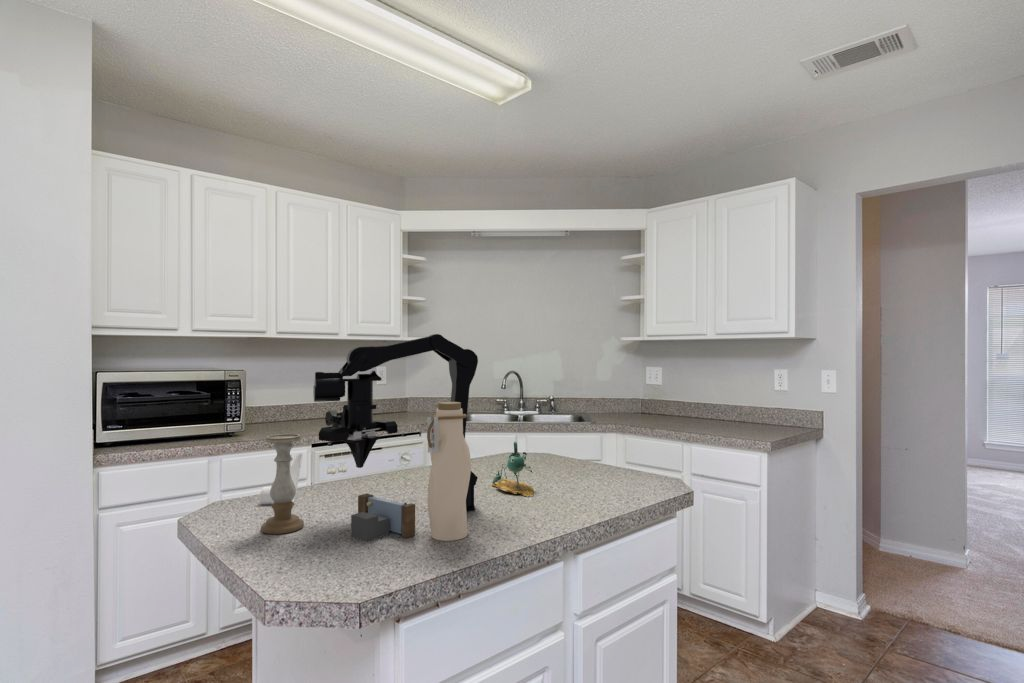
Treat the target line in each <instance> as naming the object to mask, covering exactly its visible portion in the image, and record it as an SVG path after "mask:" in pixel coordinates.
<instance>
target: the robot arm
mask: <svg viewBox="0 0 1024 683" xmlns="http://www.w3.org/2000/svg"><path fill="white" fill-rule="evenodd" d="M429 352H434V353H435V354H437V355H438V356H439V357H441V359H443V360H444V361H446V362H447V363H448V370H449V372H448V374H449V376H450V380H451V394H450V402H460V403H461V409H462V412H463V414H466V415H467V417H466V418H463V435H464V438H465V439H466V432H467V419H468V408H469V397H470V387H471V384H472V382H473V380H474V378H475V375H476V371H477V368H478V363H479V359H478V358H479V357H478V355H477V353H476V352H475V351H473V350H472V349H469V348H463V347H461V346H460V345H458V344H456V343H454V342H452V341H451V340H449V339H447V338H445V337H444V336H443V335H442V334H439V333H434V334H430V335H428V336H425V337H420V338H419V337H418V338H415V339H410V340H405V341H401V342H397V343H392V344H387V345H376V346H375V345H374V346H372V345H370V346H359V347H358V346H357V347H353V348H351V349H350V350H349V351H348V353H347V355H346V362H345V363H344V364H343V365H342V367H341V368H339V371H337V372H323V371H315V372H314V383H313V384H314V385H313V395H312V396H313V402H314V403H318V402H319V403H321V402H325V403H326V402H340V401H341V398H343V397H345V396H346V382H347V400H346V401H347V402H346V404H343V407H342V411H341V412H337V411H336V410H329V411H327V412H325V416H324V417H325V418H324V420H325V425H326V426H324V427H323V426H322V427H321V428H320V429H319V431H318V440H319V441H324V442H330V443H339V442H344V443H345V444H346V445H347V446H348V447H349V448H348V449H350V452H351V454H352V456H353V459H354V463H355V466H356V468H358V469H362V468H363V467H364V465H365V463H366V461H367V459H368V456H369V455H370V453H371V450H373V449H372V448H373V447H374V446H375V444H376V442H377V440H380V436H377V435H376V434H377V433H378V432H386V434H388V435H390V434H397V433H399V431H398V427H399V426H398V424H397V422H396V421H395V420H387V419H379V420H373V419H374V418H373V414H374V413H373V410H377V404H373V403H374V402H373V401H374V396H373V395H374V394H373V393H374V391H373V390H374V389H373V387H374V385H373V384H374V382H377V381H379V382H380V381H382V377H381V376H379V375H378V374H377V372H376V370H371V369H374V368H377V367H379V366H381V365H383V364H385V363H388V362H390V361H394V360H398V359H401V358H406V357H410V356H414V355H420V354H423V353H429ZM369 370H371V371H370V373H358V372H366V371H369ZM357 373H358V374H357ZM355 374H357V375H356V377H355V378H344V377H352V376H354V375H355ZM477 481H478V476H477V475H476V474H475V472H473V471H472V470H471V473H470V480H469V486H468V492H467V497H466V511H475V510H476V505H475V486H476V484H477Z"/></svg>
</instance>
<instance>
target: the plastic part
mask: <svg viewBox="0 0 1024 683" xmlns="http://www.w3.org/2000/svg"><path fill="white" fill-rule="evenodd" d="M290 456H291V457H292V455H291V454H290ZM302 461H303V453H298V454H296V455H295V456H294V460H293V462H292V460H291V461H290V474H291V478H292V480H293V482H294V484H295V487H296V492H297V490H298V484H299V479H300V478H299V477H300V472H301V468H302ZM271 487H272V485H270V486H263V487H262V488H261V491H260V497H259V498H260V499H259V501H260V504H261V505H265V506H267V505H270V506H271V505H272V504H273V503H274V501H273V500H272V499H271V497H270V489H271ZM296 495H297V494H296ZM296 495H295V496H294V498H293V499H292V502H294V503H295V500H296Z"/></svg>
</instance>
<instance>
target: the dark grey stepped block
mask: <svg viewBox="0 0 1024 683" xmlns="http://www.w3.org/2000/svg"><path fill="white" fill-rule="evenodd" d="M386 534H387V535H389V534H390V531H389V518H387V517H383V516H379V515H375V514H369V513H366V512H360V513H358V512H357V513H353V514H351V517H350V537H351V538H353V537H355V538H354V539H357V538H358V539H357V540H360V539H361V540H360V541H363V540H364V542H366V541H367V542H369V540H370V541H372V539H373V540H375V539H378V538H380V536H381V537H384V536H387V535H386ZM383 535H384V536H383ZM374 538H375V539H374Z"/></svg>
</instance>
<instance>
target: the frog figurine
mask: <svg viewBox="0 0 1024 683" xmlns="http://www.w3.org/2000/svg"><path fill="white" fill-rule="evenodd" d="M527 456H528V455H527V452H526V451H523V452H522V455H521V453H520V452H518V443H517V441H514V442H513V452H511V454H510V455H509V456H508V459H507V461H506V462H507V464H504V463H503V464H502V465H501V471H500V470H498V471H497V474H495V476H494V477H493V480H492V483H491V484H492V485H493V486H494V488H498V489H499V490H501V491H503V492H507V493H511V494H514V495H517V494H519V495H522V496H523V497H525V496H527V497H526V498H529V497H528V496H530V497H534V496H533V495H534V492H535V490H534V488H533V485H529V484H527V483H524V482H522V481H520V480H519V477H520V472H522V471H523V469H524V468H525V469H526V470H528V472H530V473H531V474H532V473H533V470H532V469H531V466H530V465H529V466H527V463H525V461H526V460H527ZM504 466H505V467H504ZM503 467H504V468H503ZM507 468H508V471H509V472H512V474H514V475H513V477H515V478H516V481H515V480H512V479H508V476H507V474H506V469H507ZM503 471H504V476H505V478H502V477H503ZM517 474H518V475H517ZM493 486H492V487H493Z"/></svg>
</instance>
